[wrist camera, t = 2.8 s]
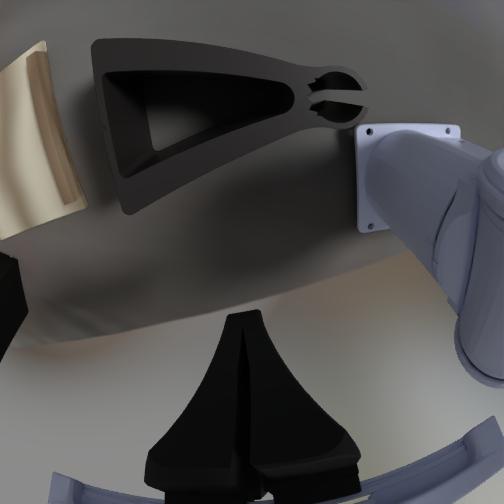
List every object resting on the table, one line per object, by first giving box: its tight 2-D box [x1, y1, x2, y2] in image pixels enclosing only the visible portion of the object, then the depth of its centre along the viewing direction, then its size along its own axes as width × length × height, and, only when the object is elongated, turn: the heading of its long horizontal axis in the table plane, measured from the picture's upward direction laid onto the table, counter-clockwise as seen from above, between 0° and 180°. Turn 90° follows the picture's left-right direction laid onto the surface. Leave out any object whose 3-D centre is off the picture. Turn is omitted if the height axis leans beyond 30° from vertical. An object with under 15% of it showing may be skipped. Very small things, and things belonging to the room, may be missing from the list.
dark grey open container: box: [91, 38, 368, 215], centre depth 13 cm, size 9×6×12 cm
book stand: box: [0, 41, 88, 240], centre depth 14 cm, size 12×14×2 cm
